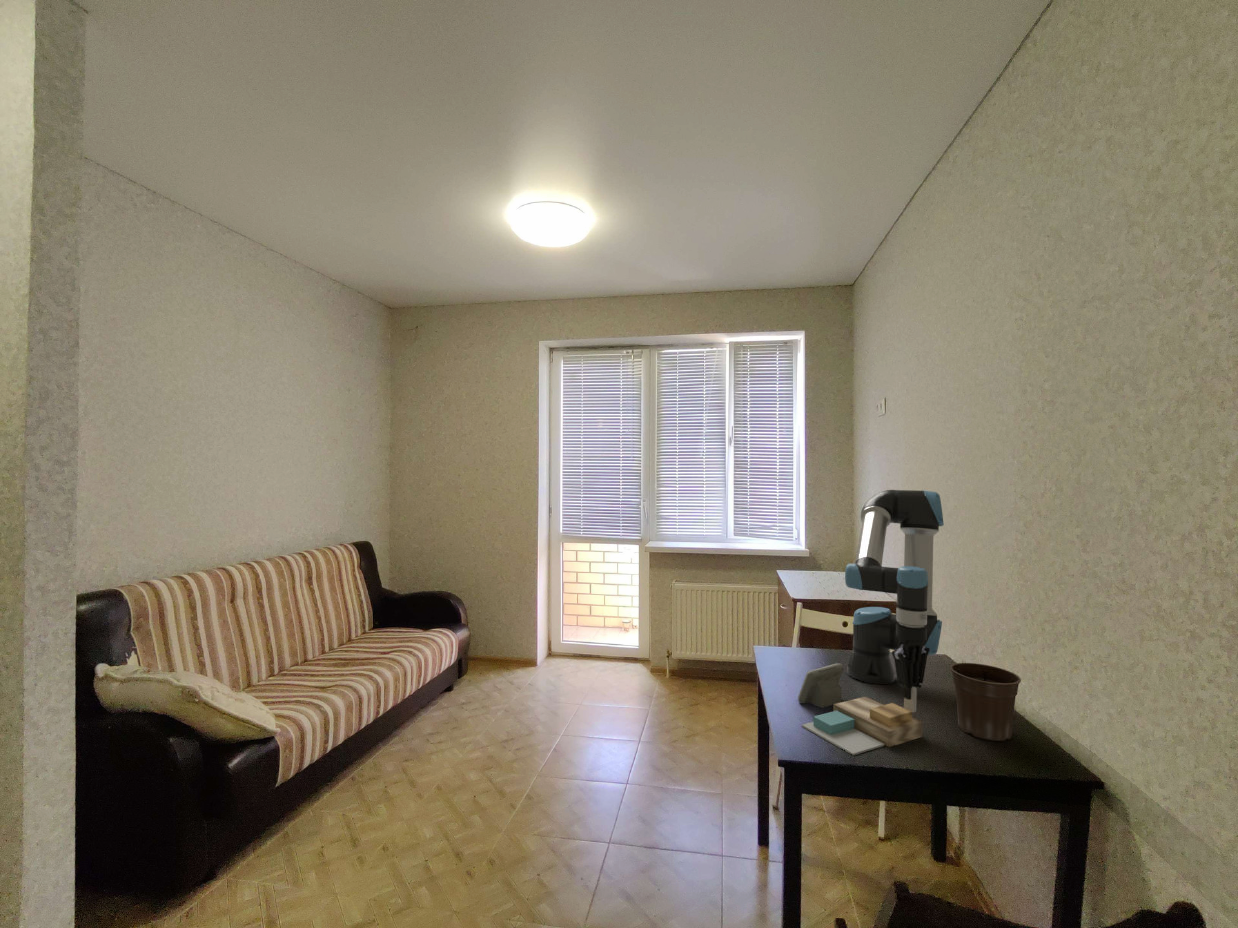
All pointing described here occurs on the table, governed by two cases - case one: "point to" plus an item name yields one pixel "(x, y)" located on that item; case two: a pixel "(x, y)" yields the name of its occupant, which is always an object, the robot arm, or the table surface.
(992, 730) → the plant pot
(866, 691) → the table surface
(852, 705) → the platform
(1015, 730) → the table surface
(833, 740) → the mat
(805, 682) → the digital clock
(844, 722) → the teal tile
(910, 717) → the ochre tile
